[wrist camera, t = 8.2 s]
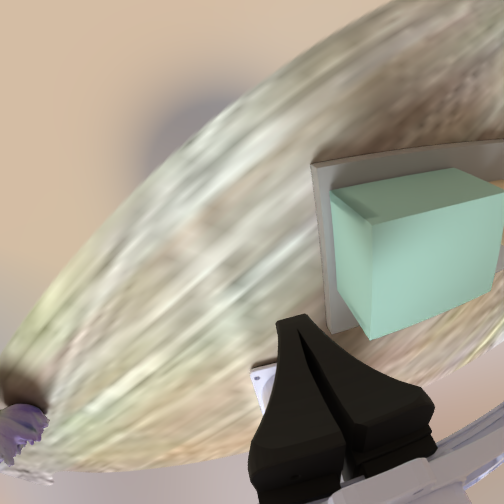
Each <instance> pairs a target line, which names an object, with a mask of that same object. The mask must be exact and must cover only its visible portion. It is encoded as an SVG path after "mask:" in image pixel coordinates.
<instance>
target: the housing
mask: <svg viewBox="0 0 504 504" xmlns="http://www.w3.org/2000/svg"><path fill="white" fill-rule="evenodd" d="M329 194H330V203H331V213H332V224H333V236H334V248H335V262H336V278H337V291H338V292H339V294H340V295H341V297H342V298H343V300H344V301H345V303H346V304H347V306H348V307H349V309H350V310H351V312H352V314H353V315H354V317H355V318H356V320H357V321H358V323H359V324H360V326H361V328H362V329H363V331H364V332H365V334H366V336H367V337H368V339H369V340H370V341H371V340H373V339H376V338H379V337H382V336H385V335H388V334H390V333H393V332H396V331H398V330H401V329H404V328H406V327H409V326H411V325H414V324H417V323H419V322H422V321H424V320H427V319H429V318H431V317H434V316H436V315H439V314H441V313H443V312H446V311H448V310H450V309H453V308H455V307H457V306H459V305H462V304H464V303H466V302H468V301H470V300H473V299H475V298H477V297H479V296H481V295H483V294H485V293H487V292H489V291H491V287H492V283H493V279H494V275H495V270H496V266H497V261H498V256H499V251H500V246H501V240H502V234H503V228H504V189H502V188H499V187H497V186H495V185H493V184H491V183H489V182H487V181H484V180H482V179H480V178H478V177H475V176H473V175H471V174H468V173H466V172H464V171H461V170H459V169H456V168H448V169H442V170H436V171H430V172H424V173H419V174H413V175H407V176H402V177H396V178H391V179H385V180H380V181H375V182H370V183H365V184H359V185H354V186H349V187H344V188H339V189H335V190H330V191H329Z"/></svg>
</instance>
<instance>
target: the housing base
mask: <svg viewBox="0 0 504 504" xmlns="http://www.w3.org/2000/svg"><path fill="white" fill-rule="evenodd" d="M310 166H311V173H312V181H313V188H314V196H315V204H316V212H317V221H318V230H319V239H320V249H321V259H322V270H323V282H324V294H325V307H326V322H327V327H328V329H329V331H330V332H331V334H335V333H339V332H342V331H345V330H348V329H351V328H355V327H358V326H360V324H359V323H358V321H357V320H356V318H355V317H354V315H353V314H352V312H351V310H350V309H349V307H348V306H347V304H346V303H345V301H344V300H343V298H342V297H341V295H340V294H339V292H338V291H337V278H336V262H335V248H334V236H333V224H332V213H331V203H330V194H329V191H330V190H335V189H339V188H344V187H349V186H354V185H359V184H365V183H370V182H375V181H380V180H385V179H391V178H396V177H402V176H407V175H413V174H419V173H424V172H430V171H436V170H442V169H448V168H456V169H459V170H461V171H464V172H466V173H468V174H471V175H473V176H475V177H478V178H480V179H482V180H484V181H487V182H491V181H496V180H501V179H502V180H504V139H495V140H482V141H470V142H459V143H449V144H440V145H431V146H423V147H415V148H407V149H400V150H392V151H386V152H379V153H372V154H366V155H359V156H353V157H347V158H341V159H336V160H330V161H325V162H319V163H314V164H310ZM503 269H504V246H503V245H501V246H500V251H499V256H498V261H497V266H496V270H495V273H497V272H499V271H501V270H503Z"/></svg>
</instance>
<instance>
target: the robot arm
mask: <svg viewBox="0 0 504 504" xmlns="http://www.w3.org/2000/svg"><path fill="white" fill-rule="evenodd" d="M275 324H276V329H277V334H278V358H277V363H273V364H270V365H265V366H261V367H257V368H254V369H252V370H250V377H251V380H252V383H253V386H254V389H255V392H256V395H257V398H258V401H259V404H260V407H261V410H262V413H263V418H262V420H261V423H260V425H259V427H258V429H257V431H256V433H255V435H254V437H253V439H252V441H251V446H250V451H249V457H248V472H249V477H250V481H251V483H252V485H253V486H254V488H255V489H256V491H257V494H258V499H259V504H471V501H470V500H469V498H468V496H467V494H466V492H465V490H466V489H468V488H469V487H471V486H472V485H474V484H475V483H477V482H478V481H479V480H481V479H482V478H484V477H485V476H487V475H488V474H489V473H491V472H492V471H493V470H495V469H496V468H497V467H498V466H500V465H501V464H502V463H504V402H502V403H501V404H500V405H498V406H497V407H495V408H494V409H492V410H491V411H489V412H488V413H486V414H485V415H483V416H482V417H480V418H479V419H477V420H475V421H474V422H472V423H471V424H469V425H467V426H466V427H464V428H462V429H461V430H459V431H457V432H455V433H454V434H452V435H450V436H448V437H446V438H444V439H443V440H441V441H439V442H437V443H435V441H434V440H433V438H432V436H431V433H432V430H431V428H430V426H429V425H428V424H429V422H430V420H431V417H432V415H433V413H434V409H435V406H434V404H433V402H432V400H431V399H430V397H429V396H428V395H427V394H426V393H425V392H424V391H423V389H422V388H421V387H418V386H415V385H412V384H408V383H405V382H402V381H399V380H397V379H394V378H392V377H389V376H387V375H385V374H383V373H381V372H379V371H377V370H375V369H373V368H371V367H369V366H368V365H366V364H364V363H362V362H361V361H359V360H358V359H356V358H355V357H353V356H352V355H350V354H349V353H348V352H346V351H345V350H344V349H342V348H341V347H340V346H339V345H337V344H336V343H335V342H334V341H333V340H332V339H330V338H329V337H328V336H327V335H326V334H325V333H324V332H323V331H322V330H321V329H320V328H319V327H318V326H317V325H316V324H315V323H314V322H313V321H312V320H311V319H310V318H309V316H308V315H306V314H301V315H298V316H294V317H290V318H286V319H283V320H279V321H277V322H276V323H275ZM257 376H258V377H257Z"/></svg>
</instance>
